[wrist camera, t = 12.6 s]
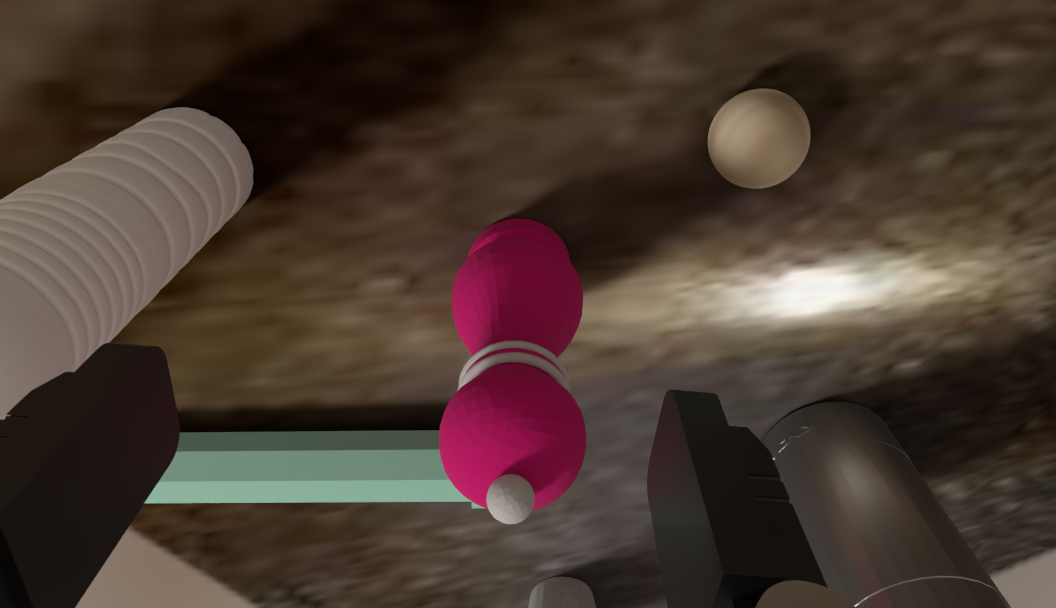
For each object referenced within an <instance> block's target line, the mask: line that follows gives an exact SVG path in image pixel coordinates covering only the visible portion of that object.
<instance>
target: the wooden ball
mask: <svg viewBox="0 0 1056 608" xmlns="http://www.w3.org/2000/svg"><path fill="white" fill-rule="evenodd" d="M810 137H811V136H810V125H809V121H808V118H807V116H806V114H805V112H804V110H803V109H802V107H801V106H800V105H799V104H798V103H797V102H796V101H795V100H794V99H793V98H792V97H790V96H789V95H787V94H785V93H782V92H780V91H777V90H773V89H752V90H748V91H745V92H743V93H740V94H738V95H736V96H735V97H733V98H732V99H730V100H729V101H728V102H726V103H725V104H724V105H723V106H722V107H721V108H720V110H719V111H718V112H717V114H716V116H715V117H714V119H713V121H712V124H711V126H710V129H709V134H708V150H709V155H710V158H711V160H712V163H713V165H714V166H715V168H716V170H717V171H718V172H719V173H720V174H721V175H722V176H723V177H724V178H725V179H726V180H728V181H730V182H731V183H733V184H735V185H738V186H741V187H744V188H751V189H760V188H767V187H771V186H773V185H776V184H778V183H780V182H782V181H784V180H786V179H787V178H788V177H790V176H791V175H792V174H793V173H794V172H795V171H796V170H797V169H798V168H799V167H800V165H801V164H802V162H803V161H804V159H805V157H806V155H807V152H808V149H809V145H810Z"/></svg>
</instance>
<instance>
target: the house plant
mask: <svg viewBox="0 0 1056 608" xmlns="http://www.w3.org/2000/svg"><path fill="white" fill-rule="evenodd" d="M528 608H596V605H595V601H594V597H593V594H592V590H591V589H590V588H589V586H588V585H587V584H585V583H584V582H582V581H580V580H578V579H575V578H571V577H553V578H549V579H546V580H544V581H542V582H540V583H539V584H538V585H537V586H536V587H535V588H534V589H533V591H532V593H531V597H530V602H529V607H528Z"/></svg>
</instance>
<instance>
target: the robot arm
mask: <svg viewBox="0 0 1056 608" xmlns="http://www.w3.org/2000/svg"><path fill="white" fill-rule="evenodd" d="M179 436H180V423H179V418H178V413H177V408H176V403H175V398H174V393H173V388H172V383H171V378H170V373H169V368H168V363H167V359H166V356H165V353H164V352H163V350H162V349H161V348H159V347H157V346H145V345H133V344H120V343H105V344H103V345H101V346H100V347H99V348H98V349H97V350H96V351H95V352H94V353H93V354H92V355H91V356H90V357H89V358H88V359H87V360H86V361H85V362H84V363H83V364H82V365H81V366H80V367H79V368H78V369H77V370H76V371H75V372H64V373H62V374H61V375H59V376H57V377H55V378H53V379H51V380H50V381H48V382H46V383H44V384H42V385H41V386H39V387H37V388H35V389H33V390H31V391H30V392H29V393H28V394H27V395H26V396H25V397H24V398H23V399H22V400H21V401H20V402H18V403H17V404H16V405H15V406H14V407H13V408H12V409H11V410H10V411H9V412H8V413H7V414H6V418H5V420H2V419H1V420H0V608H75V607H76V605H77V604H78V602H79V601H80V599H81V597H82V596H83V595H84V593H85V592H86V590H87V589H88V587H89V586H90V584H91V583H92V581H93V580H94V578H95V577H96V575H97V574H98V572H99V571H100V569H101V567H102V566H103V565H104V563H105V561H106V560H107V559H108V557H109V556H110V554H111V552H112V551H113V550H114V548H115V547H116V545H117V543H118V542H119V540H120V539H121V537H122V535H123V534H124V533H125V531H126V530H127V528H128V527H129V525H130V524H131V522H132V521H133V519H134V518H135V516H136V515H137V513H138V512H139V510H140V509H141V507H142V506H143V504H144V503H145V501H146V500H147V498H148V497H149V495H150V494H151V492H152V491H153V489H154V488H155V486H156V485H157V483H158V482H159V480H160V479H161V477H162V476H163V474H164V473H165V471H166V470H167V468H168V467H169V465H170V464H171V462H172V460H173V458H174V456H175V453H176V451H177V447H178V443H179ZM647 490H648V501H649V506H650V512H651V517H652V523H653V528H654V533H655V539H656V544H657V550H658V555H659V561H660V566H661V571H662V577H663V582H664V588H665V593H666V598H667V604H668V608H1011V607H1010V605H1009V604H1008V602H1007V601H1006V599H1005V598H1004V597H1003V595H1002V594H1001V593H1000V591H999V590H998V588H997V587H996V585H995V584H994V582H993V581H992V579H991V578H990V576H989V575H988V573H987V572H986V571H985V569H984V568H983V566H982V565H981V563H980V562H979V560H978V559H977V557H976V556H975V554H974V553H973V551H972V550H971V548H970V547H969V546H968V544H967V543H966V541H965V540H964V538H963V537H962V535H961V534H960V532H959V531H958V529H957V528H956V526H955V525H954V524H953V522H952V521H951V519H950V518H949V516H948V515H947V513H946V512H945V510H944V509H943V507H942V506H941V504H940V503H939V501H938V500H937V499H936V497H935V496H934V494H933V493H932V491H931V490H930V488H929V487H928V485H927V484H926V482H925V481H924V479H923V478H922V477H921V475H920V474H919V472H918V471H917V469H916V468H915V466H914V465H913V463H912V461H911V460H910V458H909V457H908V456H907V454H906V453H905V451H904V450H903V448H902V447H901V445H900V444H899V442H898V441H897V439H896V438H895V437H894V435H893V434H892V432H891V431H890V429H889V428H888V426H887V425H886V423H885V422H884V421H883V420H882V419H881V417H880V416H879V415H878V414H876V413H875V412H873V411H872V410H870V409H869V408H867V407H864V406H861V405H859V404H855V403H849V402H824V403H819V404H814V405H811V406H808V407H805V408H802V409H799V410H797V411H795V412H794V413H792V414H790V415H788V416H786V417H785V418H784V419H782V420H781V421H780V422H778V423H777V424H776V425H775V426H774V427H773V428H772V429H771V430H770V431H769V432H768V433H767V435H766V436H765V438H764V440H763V441H762V442H761V441H760V440H759V439H758V438H757V437H756V436H755V435H754V434H753V433H752V432H751V431H750V430H749V429H748V428H747V427H735V426H729V425H728V423H727V420H726V417H725V414H724V412H723V409H722V406H721V403H720V401H719V398H718V396H717V395H716V394H715V393H705V392H693V391H681V390H668V391H667V392H666V394H665V397H664V401H663V405H662V409H661V413H660V417H659V422H658V426H657V430H656V435H655V439H654V443H653V447H652V452H651V456H650V461H649V467H648V478H647Z"/></svg>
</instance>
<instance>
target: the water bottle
mask: <svg viewBox="0 0 1056 608" xmlns="http://www.w3.org/2000/svg"><path fill="white" fill-rule="evenodd" d="M252 186H253V165H252V161H251V157H250V155H249V152H248V150H247V148H246V147H245V145H244V144H243V143H241V140H240V138H239V136H238V135H237V134H236V133H235V131H234V130H233V129H232V128H230V127H229V126H228V125H227V124H226V123H224V122H223V121H222V120H220V119H218V118H216V117H214V116H210V115H209V114H208V113H206V112H204V111H201V110H198V109H194V108H187V107H176V108H169V109H164V110H161V111H159V112H157V113H154V114H153V115H151V116H149V117H147V118H145V119H143V120H142V121H140V122H138V123H137V124H135V125H134V126H132V127H130V128H128V129H126V130H124V131H122V132H120V133H119V134H117V135H116V136H114V137H112V138H110V139H108V140H106V141H104V142H102V143H100V144H99V145H97V146H96V147H94V148H92V149H90V150H88V151H86V152H84V153H82V154H80V155H79V156H77V157H75V158H74V159H72V160H71V161H70V162H67V163H65V164H63V165H61V166H59V167H57V168H55V169H53V170H51V171H50V172H48V173H47V174H45V175H44V176H42V177H40V178H38V179H35V180H33V181H31V182H29V183H27V184H26V185H24V186H22V187H20V188H19V189H17V190H16V191H14V192H13V193H11V194H9V195H8V196H6V197H5V198H3V199H1V200H0V420H1V419H2V420H5V418H6V414H7V413H8V412H9V411H10V410H11V409H12V408H13V407H14V406H15V405H16V404H17V403H18V402H20V401H21V400H22V399H23V398H24V397H25V396H26V395H27V394H28V393H29V392H30V391H31V390H33V389H35V388H37V387H39V386H41V385H42V384H44V383H46V382H48V381H50V380H51V379H53V378H55V377H57V376H59V375H61V374H62V373H64V372H75V371H76V370H77V369H78V368H79V367H80V366H81V365H82V364H83V363H84V362H85V361H86V360H87V359H88V358H89V357H90V356H91V355H92V354H93V353H94V352H95V351H96V350H97V349H98V348H99V347H100V346H101V345H103V344H105V343H109V342H110V341H111V340H112V339H113V338H114V337H115V336H116V335H117V334H118V333H119V332H120V331H121V330H122V329H123V327H125V326H126V325H127V324H128V323H129V322H130V321H131V319H132V318H133V317H134V316H135V315H136V314H137V313H139V312H140V311H141V310H142V309H143V308H144V307H145V306H146V305H147V304H148V303H149V302H150V301H151V300H152V299H153V298H154V297H155V296H156V295H157V293H158V292H159V291H160V289H162V288H163V287H164V286H165V285H166V284H167V283H168V282H169V281H170V280H171V279H172V278H173V277H174V276H175V275H176V274H177V273H178V271H179V270H180V269H181V268H182V267H184V266H185V265H186V264H187V263H188V262H189V261H190V260H191V258H192V257H193V256H194V255H195V254H196V253H197V252H198V251H199V250H200V249H201V248H202V247H203V246H204V245H205V244H206V243H207V242H208V241H209V239H210V238H211V237H212V236H213V235H214V234H215V233H217V232H218V231H219V230H220V229H221V227H222V226H223V225H224V224H225V223H226V222H227V221H228V220H229V219H230V218H231V217H232V216H233V215H234V214H235V213H236V212H237V211H238V210H239V209H240V208H241V207H242V206H243V205H244V203H245V202H246V200H247V199H248V197H249V195H250V193H251V190H252Z"/></svg>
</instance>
